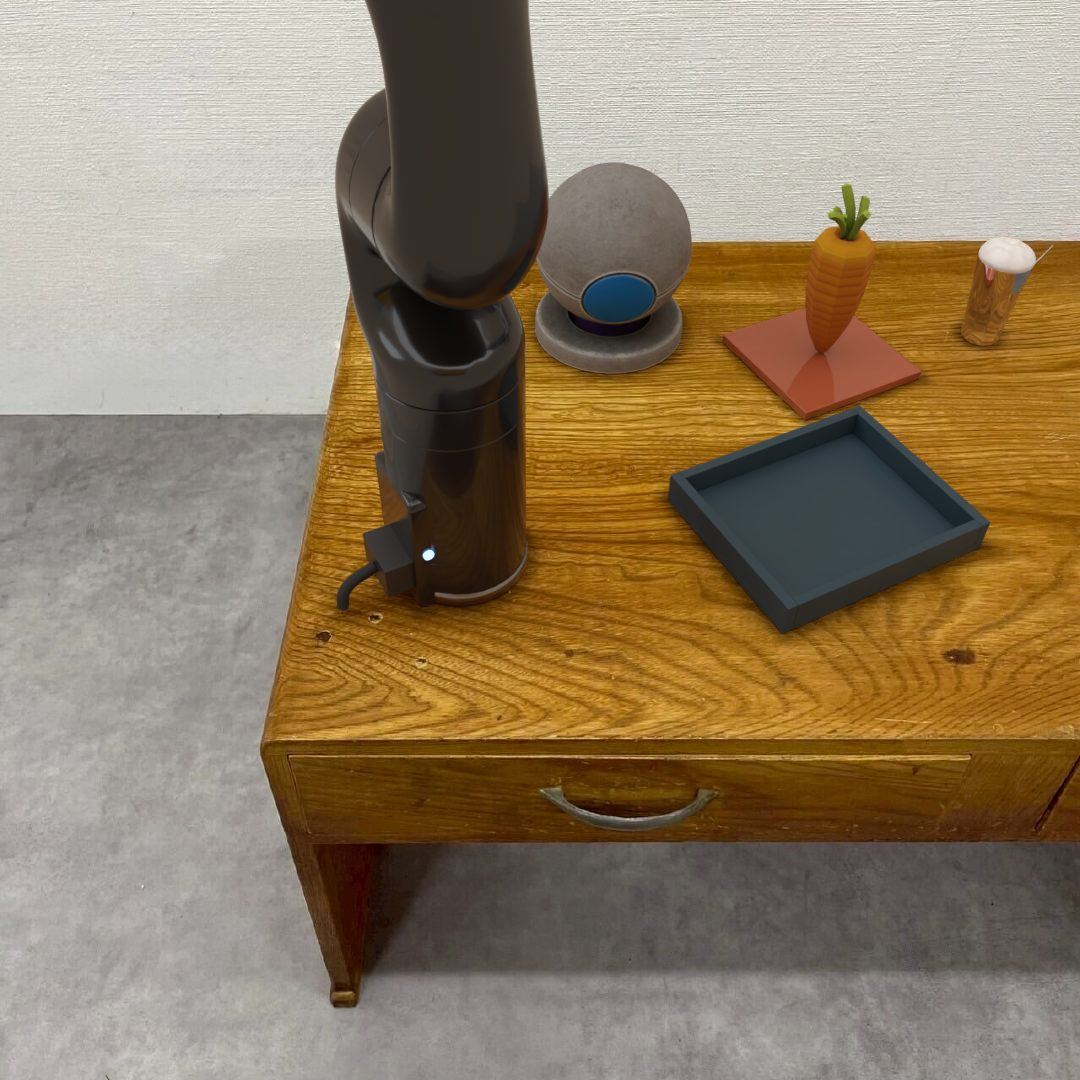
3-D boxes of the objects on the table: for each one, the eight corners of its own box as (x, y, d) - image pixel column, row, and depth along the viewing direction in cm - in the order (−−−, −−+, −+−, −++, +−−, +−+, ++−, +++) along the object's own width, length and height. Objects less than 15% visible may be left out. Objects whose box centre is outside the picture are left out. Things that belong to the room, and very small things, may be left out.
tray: (782, 634, 75) (788, 609, 74) (667, 499, 84) (670, 474, 82) (980, 547, 81) (991, 522, 79) (853, 429, 90) (860, 404, 88)
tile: (804, 420, 91) (806, 413, 90) (721, 341, 98) (722, 334, 98) (919, 378, 95) (922, 371, 94) (831, 305, 102) (833, 298, 101)
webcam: (671, 287, 104) (687, 133, 93) (691, 372, 95) (711, 213, 84) (531, 291, 103) (531, 136, 92) (538, 377, 95) (539, 217, 84)
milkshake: (1007, 360, 96) (1045, 259, 89) (946, 340, 98) (978, 239, 91) (1021, 333, 99) (1059, 233, 92) (961, 314, 101) (994, 215, 94)
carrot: (849, 373, 94) (890, 212, 83) (789, 366, 94) (822, 205, 84) (850, 339, 97) (890, 179, 86) (792, 332, 98) (824, 173, 87)
